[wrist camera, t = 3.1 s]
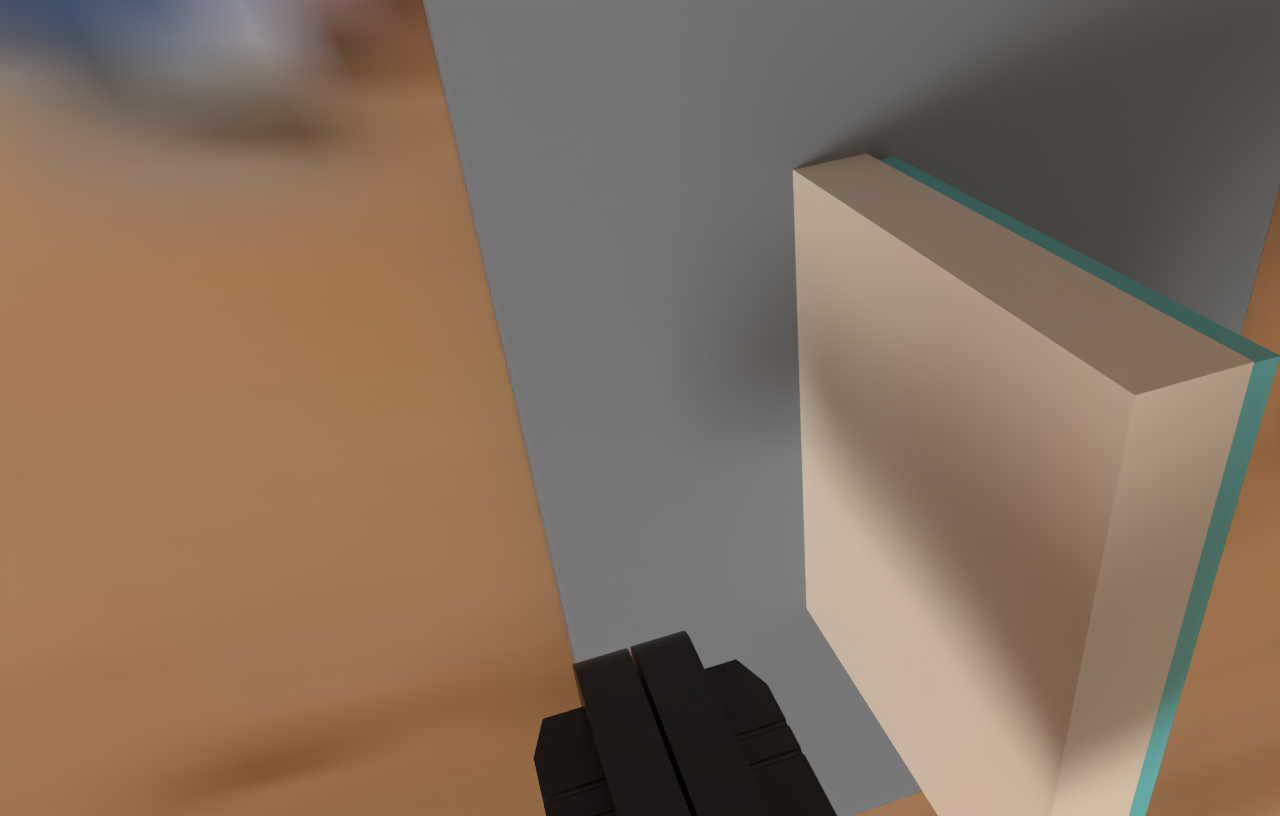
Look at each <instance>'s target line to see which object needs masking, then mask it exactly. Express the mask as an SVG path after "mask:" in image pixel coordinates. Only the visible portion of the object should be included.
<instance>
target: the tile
mask: <svg viewBox="0 0 1280 816" xmlns="http://www.w3.org/2000/svg"><path fill="white" fill-rule="evenodd" d="M793 192H794V224H795V256H796V289H797V321H798V353H799V385H800V417H801V449H802V481H803V513H804V545H805V578H806V608H807V610H808V611H809V613H810V615H811V616H812V618H813V619H814V621H815V622H816V624H817V626H818V627H819V629H820V630H821V632H822V633H823V635H824V637H825V638H826V640H827V641H828V643H829V644H830V646H831V648H832V649H833V651H834V652H835V654H836V655H837V657H838V659H839V660H840V662H841V663H842V665H843V667H844V668H845V670H846V671H847V673H848V674H849V676H850V678H851V679H852V681H853V682H854V684H855V685H856V687H857V689H858V690H859V692H860V693H861V695H862V696H863V698H864V700H865V701H866V703H867V704H868V706H869V708H870V709H871V711H872V712H873V714H874V715H875V717H876V719H877V720H878V722H879V723H880V725H881V726H882V728H883V730H884V731H885V733H886V734H887V736H888V737H889V739H890V741H891V742H892V744H893V745H894V747H895V748H896V750H897V752H898V753H899V755H900V756H901V758H902V760H903V761H904V763H905V764H906V766H907V767H908V769H909V771H910V772H911V774H912V775H913V777H914V778H915V780H916V782H917V783H918V785H919V786H920V788H921V789H922V791H923V793H924V794H925V796H926V797H927V799H928V800H929V802H930V804H931V805H932V807H933V808H934V810H935V812H936V813H937V815H938V816H1146V812H1147V809H1148V805H1149V802H1150V799H1151V795H1152V792H1153V788H1154V785H1155V781H1156V778H1157V775H1158V771H1159V768H1160V764H1161V761H1162V758H1163V754H1164V751H1165V747H1166V744H1167V740H1168V737H1169V734H1170V730H1171V727H1172V723H1173V720H1174V717H1175V713H1176V710H1177V706H1178V703H1179V699H1180V696H1181V693H1182V689H1183V686H1184V682H1185V679H1186V676H1187V672H1188V669H1189V665H1190V662H1191V659H1192V655H1193V652H1194V648H1195V645H1196V641H1197V638H1198V635H1199V631H1200V628H1201V624H1202V621H1203V618H1204V614H1205V611H1206V607H1207V604H1208V600H1209V597H1210V594H1211V590H1212V587H1213V583H1214V580H1215V577H1216V573H1217V570H1218V566H1219V563H1220V559H1221V556H1222V553H1223V549H1224V546H1225V542H1226V539H1227V536H1228V532H1229V529H1230V525H1231V522H1232V518H1233V515H1234V512H1235V508H1236V505H1237V501H1238V498H1239V495H1240V491H1241V488H1242V484H1243V481H1244V478H1245V474H1246V471H1247V467H1248V464H1249V460H1250V457H1251V454H1252V450H1253V447H1254V443H1255V440H1256V437H1257V433H1258V430H1259V426H1260V423H1261V419H1262V416H1263V413H1264V409H1265V406H1266V402H1267V399H1268V396H1269V392H1270V389H1271V385H1272V382H1273V378H1274V375H1275V372H1276V368H1277V365H1278V361H1279V358H1280V356H1279V355H1278V354H1276V353H1274V352H1272V351H1270V350H1268V349H1266V348H1264V347H1262V346H1260V345H1258V344H1256V343H1254V342H1252V341H1250V340H1248V339H1247V338H1245V337H1243V336H1241V335H1239V334H1237V333H1235V332H1233V331H1231V330H1229V329H1227V328H1225V327H1223V326H1221V325H1219V324H1217V323H1216V322H1214V321H1212V320H1210V319H1208V318H1206V317H1204V316H1202V315H1200V314H1198V313H1196V312H1194V311H1192V310H1190V309H1188V308H1186V307H1185V306H1183V305H1181V304H1179V303H1177V302H1175V301H1173V300H1171V299H1169V298H1167V297H1165V296H1163V295H1161V294H1159V293H1157V292H1156V291H1154V290H1152V289H1150V288H1148V287H1146V286H1144V285H1142V284H1140V283H1138V282H1136V281H1134V280H1132V279H1130V278H1128V277H1126V276H1125V275H1123V274H1121V273H1119V272H1117V271H1115V270H1113V269H1111V268H1109V267H1107V266H1105V265H1103V264H1101V263H1099V262H1097V261H1095V260H1094V259H1092V258H1090V257H1088V256H1086V255H1084V254H1082V253H1080V252H1078V251H1076V250H1074V249H1072V248H1070V247H1068V246H1066V245H1064V244H1063V243H1061V242H1059V241H1057V240H1055V239H1053V238H1051V237H1049V236H1047V235H1045V234H1043V233H1041V232H1039V231H1037V230H1035V229H1034V228H1032V227H1030V226H1028V225H1026V224H1024V223H1022V222H1020V221H1018V220H1016V219H1014V218H1012V217H1010V216H1008V215H1006V214H1004V213H1003V212H1001V211H999V210H997V209H995V208H993V207H991V206H989V205H987V204H985V203H983V202H981V201H979V200H977V199H975V198H973V197H972V196H970V195H968V194H966V193H964V192H962V191H960V190H958V189H956V188H954V187H952V186H950V185H948V184H946V183H944V182H942V181H941V180H939V179H937V178H935V177H933V176H931V175H929V174H927V173H925V172H923V171H921V170H919V169H917V168H915V167H913V166H912V165H910V164H908V163H906V162H904V161H902V160H900V159H898V158H896V157H890V158H885V159H880V160H878V159H876V158H874V157H872V156H870V155H869V154H862V155H858V156H853V157H848V158H844V159H839V160H835V161H830V162H825V163H821V164H816V165H811V166H807V167H802V168H798V169H793Z"/></svg>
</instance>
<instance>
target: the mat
mask: <svg viewBox="0 0 1280 816" xmlns="http://www.w3.org/2000/svg"><path fill="white" fill-rule="evenodd" d="M423 4H424V8H425V12H426V17H427V21H428V25H429V30H430V34H431V39H432V43H433V47H434V52H435V56H436V60H437V65H438V69H439V73H440V78H441V82H442V87H443V91H444V95H445V100H446V104H447V108H448V113H449V117H450V121H451V126H452V130H453V135H454V139H455V143H456V148H457V152H458V156H459V161H460V165H461V169H462V174H463V178H464V183H465V187H466V191H467V196H468V200H469V204H470V209H471V213H472V217H473V222H474V226H475V231H476V235H477V239H478V244H479V248H480V252H481V257H482V261H483V265H484V270H485V274H486V279H487V283H488V287H489V292H490V296H491V300H492V305H493V309H494V313H495V318H496V322H497V327H498V331H499V335H500V340H501V344H502V348H503V353H504V357H505V361H506V366H507V370H508V375H509V379H510V383H511V388H512V392H513V396H514V401H515V405H516V409H517V414H518V418H519V423H520V427H521V431H522V436H523V440H524V444H525V449H526V453H527V457H528V462H529V466H530V470H531V475H532V479H533V484H534V488H535V492H536V497H537V501H538V505H539V510H540V514H541V518H542V523H543V527H544V532H545V536H546V540H547V545H548V549H549V553H550V558H551V562H552V566H553V571H554V575H555V580H556V584H557V588H558V593H559V597H560V601H561V606H562V610H563V614H564V619H565V623H566V628H567V632H568V636H569V641H570V645H571V649H572V654H573V658H574V662H575V663H578V662H581V661H585V660H588V659H591V658H595V657H598V656H601V655H605V654H608V653H611V652H615V651H618V650H621V649H625V648H627V649H628V650H629V652H630V655H631V646H634V645H637V644H641V643H644V642H647V641H651V640H654V639H657V638H661V637H664V636H667V635H671V634H674V633H677V632H681V631H686V632H687V634H688V635H689V637H690V639H691V641H692V643H693V645H694V647H695V650H696V652H697V654H698V656H699V658H700V660H701V663H702V665H703V667H704V669H706V668H709V667H712V666H715V665H719V664H722V663H725V662H728V661H732V660H735V659H737V660H738V661H739V662H740V663H742V664H743V665H744V666H745V667H747V668H748V669H749V670H750V671H752V672H753V673H754V674H755V675H757V676H758V677H759V678H760V679H762V680H763V681H764V682H765V683H766V684H768V686H769V688H770V690H771V692H772V694H773V696H774V698H775V699H776V701H777V703H778V705H779V707H780V709H781V711H782V713H783V715H784V716H785V718H786V722H787V725H788V726H790V728H791V730H792V732H793V733H794V735H795V737H796V739H797V741H798V743H799V745H800V747H801V751H802V753H803V755H804V754H805V756H806V758H807V760H808V762H809V764H810V765H811V767H812V769H813V771H814V773H815V775H816V777H817V779H818V780H819V782H820V784H821V786H822V788H823V790H824V792H825V794H826V796H827V797H828V799H829V801H830V803H831V805H832V807H833V809H834V811H835V813H836V814H837V816H853V815H856V814H859V813H861V812H864V811H867V810H870V809H873V808H876V807H879V806H881V805H884V804H887V803H890V802H893V801H896V800H898V799H901V798H904V797H907V796H910V795H913V794H915V793H918V792H921V791H922V789H921V788H920V786H919V785H918V783H917V782H916V780H915V778H914V777H913V775H912V774H911V772H910V771H909V769H908V767H907V766H906V764H905V763H904V761H903V760H902V758H901V756H900V755H899V753H898V752H897V750H896V748H895V747H894V745H893V744H892V742H891V741H890V739H889V737H888V736H887V734H886V733H885V731H884V730H883V728H882V726H881V725H880V723H879V722H878V720H877V719H876V717H875V715H874V714H873V712H872V711H871V709H870V708H869V706H868V704H867V703H866V701H865V700H864V698H863V696H862V695H861V693H860V692H859V690H858V689H857V687H856V685H855V684H854V682H853V681H852V679H851V678H850V676H849V674H848V673H847V671H846V670H845V668H844V667H843V665H842V663H841V662H840V660H839V659H838V657H837V655H836V654H835V652H834V651H833V649H832V648H831V646H830V644H829V643H828V641H827V640H826V638H825V637H824V635H823V633H822V632H821V630H820V629H819V627H818V626H817V624H816V622H815V621H814V619H813V618H812V616H811V615H810V613H809V611H808V610H807V608H806V578H805V545H804V513H803V481H802V449H801V417H800V385H799V353H798V321H797V289H796V256H795V224H794V192H793V169H798V168H802V167H807V166H811V165H816V164H821V163H825V162H830V161H835V160H839V159H844V158H848V157H853V156H858V155H862V154H869V155H870V156H872V157H874V158H876V159H878V160H880V159H885V158H890V157H896V158H898V159H900V160H902V161H904V162H906V163H908V164H910V165H912V166H913V167H915V168H917V169H919V170H921V171H923V172H925V173H927V174H929V175H931V176H933V177H935V178H937V179H939V180H941V181H942V182H944V183H946V184H948V185H950V186H952V187H954V188H956V189H958V190H960V191H962V192H964V193H966V194H968V195H970V196H972V197H973V198H975V199H977V200H979V201H981V202H983V203H985V204H987V205H989V206H991V207H993V208H995V209H997V210H999V211H1001V212H1003V213H1004V214H1006V215H1008V216H1010V217H1012V218H1014V219H1016V220H1018V221H1020V222H1022V223H1024V224H1026V225H1028V226H1030V227H1032V228H1034V229H1035V230H1037V231H1039V232H1041V233H1043V234H1045V235H1047V236H1049V237H1051V238H1053V239H1055V240H1057V241H1059V242H1061V243H1063V244H1064V245H1066V246H1068V247H1070V248H1072V249H1074V250H1076V251H1078V252H1080V253H1082V254H1084V255H1086V256H1088V257H1090V258H1092V259H1094V260H1095V261H1097V262H1099V263H1101V264H1103V265H1105V266H1107V267H1109V268H1111V269H1113V270H1115V271H1117V272H1119V273H1121V274H1123V275H1125V276H1126V277H1128V278H1130V279H1132V280H1134V281H1136V282H1138V283H1140V284H1142V285H1144V286H1146V287H1148V288H1150V289H1152V290H1154V291H1156V292H1157V293H1159V294H1161V295H1163V296H1165V297H1167V298H1169V299H1171V300H1173V301H1175V302H1177V303H1179V304H1181V305H1183V306H1185V307H1186V308H1188V309H1190V310H1192V311H1194V312H1196V313H1198V314H1200V315H1202V316H1204V317H1206V318H1208V319H1210V320H1212V321H1214V322H1216V323H1217V324H1219V325H1221V326H1223V327H1225V328H1227V329H1229V330H1231V331H1233V332H1235V333H1237V334H1239V335H1241V332H1242V328H1243V324H1244V320H1245V316H1246V313H1247V309H1248V305H1249V301H1250V297H1251V293H1252V290H1253V286H1254V282H1255V278H1256V274H1257V271H1258V267H1259V263H1260V259H1261V255H1262V252H1263V248H1264V244H1265V240H1266V236H1267V233H1268V229H1269V225H1270V221H1271V217H1272V214H1273V210H1274V206H1275V202H1276V198H1277V194H1278V191H1279V187H1280V0H423Z"/></svg>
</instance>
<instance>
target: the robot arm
mask: <svg viewBox="0 0 1280 816" xmlns="http://www.w3.org/2000/svg"><path fill="white" fill-rule="evenodd" d="M573 670H574V675H575V679H576V684H577V688H578V693H579V697H580V701H581V706H582V707H580V708H577V709H574V710H570V711H567V712H564V713H561V714H557V715H554V716H551V717H548V718H544V719H543V721H542V725H541V729H540V733H539V738H538V742H537V746H536V750H535V755H534V762H535V766H536V771H537V776H538V780H539V785H540V789H541V794H542V798H543V802H544V808H545V812H546V816H837V814H836V813H835V811H834V809H833V807H832V805H831V803H830V801H829V799H828V797H827V796H826V794H825V792H824V790H823V788H822V786H821V784H820V782H819V780H818V779H817V777H816V775H815V773H814V771H813V769H812V767H811V765H810V764H809V762H808V760H807V758H806V756H805V754H804V755H803V753H802V751H801V747H800V745H799V743H798V741H797V739H796V737H795V735H794V733H793V732H792V730H791V728H790V726H788V725H787V722H786V718H785V716H784V715H783V713H782V711H781V709H780V707H779V705H778V703H777V701H776V699H775V698H774V696H773V694H772V692H771V690H770V688H769V686H768V684H766V683H765V682H764V681H763V680H762V679H760V678H759V677H758V676H757V675H755V674H754V673H753V672H752V671H750V670H749V669H748V668H747V667H745V666H744V665H743V664H742V663H740V662H739V661H738V660H737V659H735V660H732V661H728V662H725V663H722V664H719V665H715V666H712V667H709V668H706V669H704V667H703V665H702V663H701V660H700V658H699V656H698V654H697V652H696V650H695V647H694V645H693V643H692V641H691V639H690V637H689V635H688V634H687V632H686V631H681V632H677V633H674V634H671V635H667V636H664V637H661V638H657V639H654V640H651V641H647V642H644V643H641V644H637V645H634V646H631V655H630V652H629V650H628V649H627V648H625V649H621V650H618V651H615V652H611V653H608V654H605V655H601V656H598V657H595V658H591V659H588V660H585V661H581V662H578V663H575V664H573Z"/></svg>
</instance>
